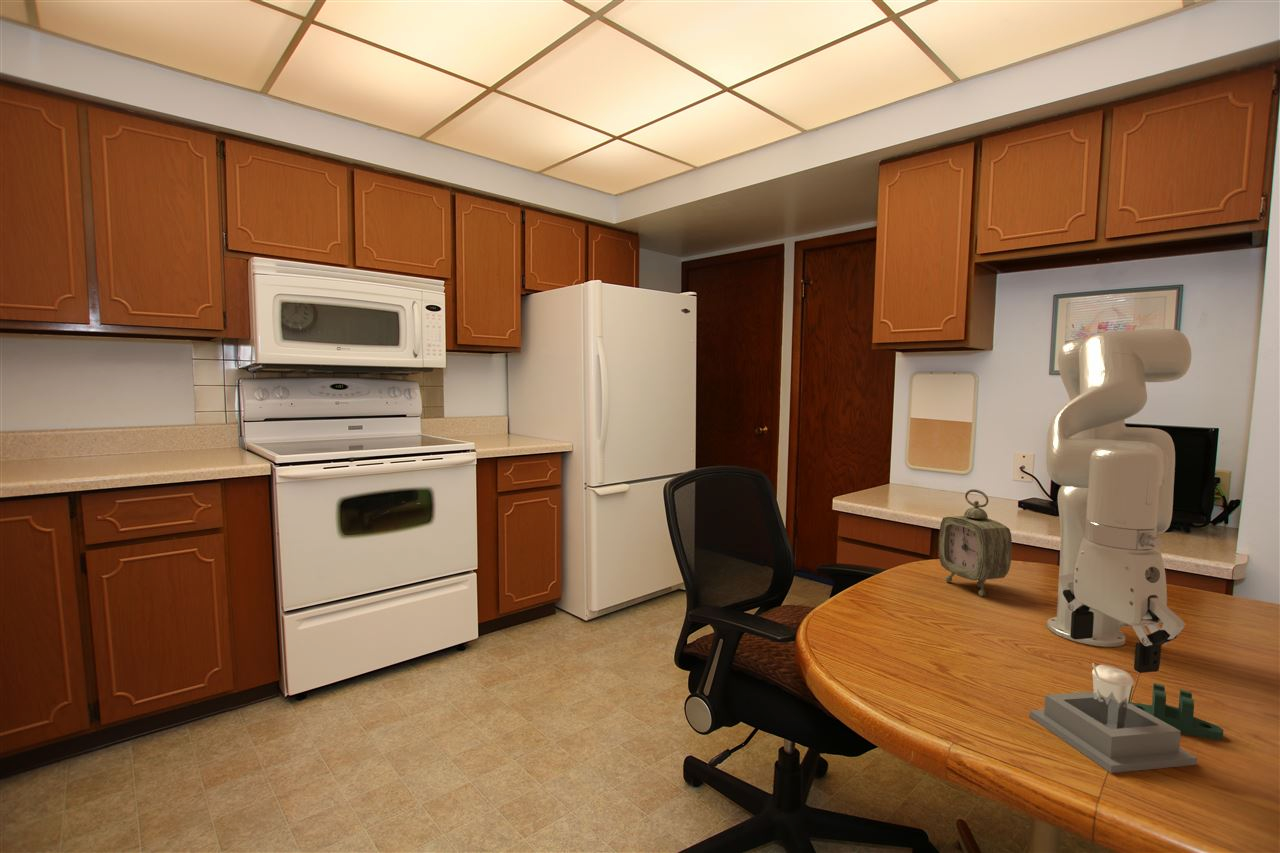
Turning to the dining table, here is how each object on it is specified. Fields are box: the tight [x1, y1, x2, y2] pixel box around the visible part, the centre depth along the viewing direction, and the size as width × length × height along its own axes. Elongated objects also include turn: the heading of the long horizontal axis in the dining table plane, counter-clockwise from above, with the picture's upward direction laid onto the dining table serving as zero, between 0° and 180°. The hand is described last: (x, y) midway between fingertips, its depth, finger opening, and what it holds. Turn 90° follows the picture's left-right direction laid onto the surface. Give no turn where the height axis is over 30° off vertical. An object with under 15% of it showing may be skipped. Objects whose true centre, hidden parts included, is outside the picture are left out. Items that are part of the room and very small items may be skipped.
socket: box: [1029, 690, 1198, 774], centre depth 82 cm, size 13×13×4 cm
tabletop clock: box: [938, 488, 1013, 597], centre depth 144 cm, size 14×9×25 cm, turn 14°
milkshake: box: [1091, 662, 1135, 729], centre depth 82 cm, size 4×5×10 cm
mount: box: [1130, 682, 1224, 741], centre depth 86 cm, size 11×4×5 cm, turn 51°
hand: (1111, 653), depth 82 cm, fingers open, 9 cm apart
